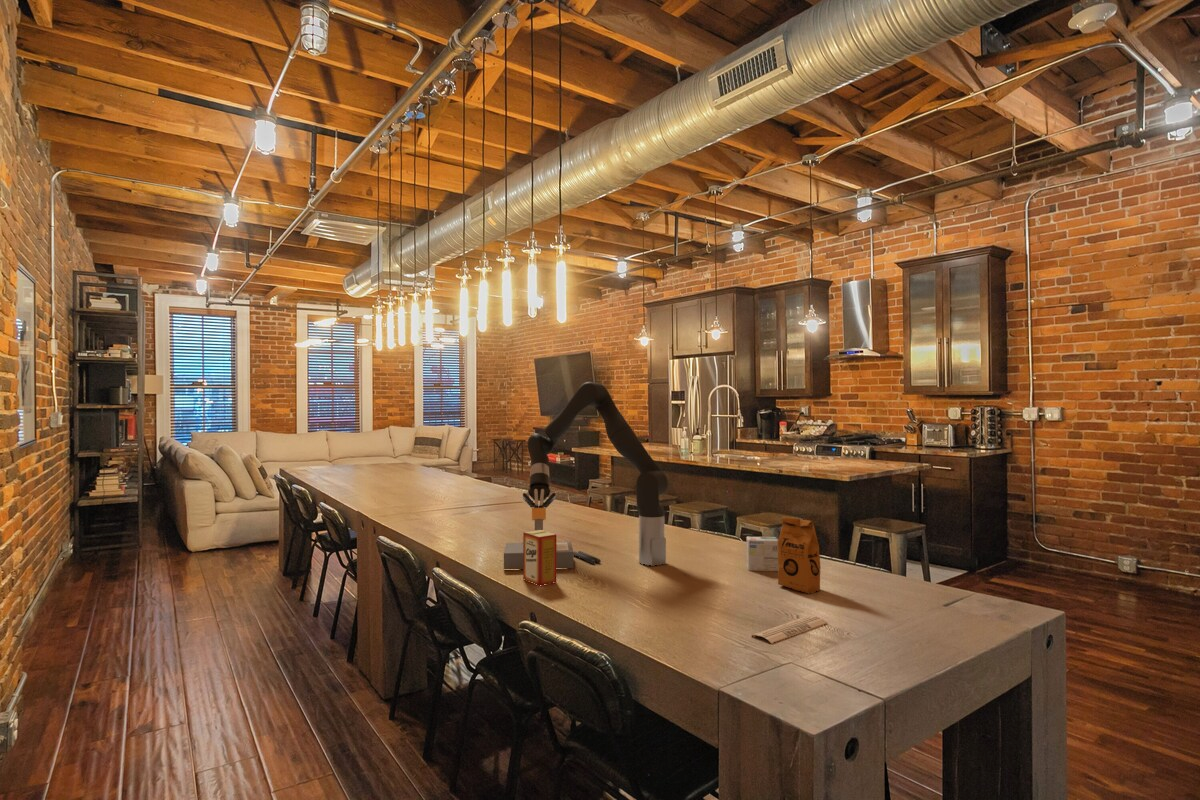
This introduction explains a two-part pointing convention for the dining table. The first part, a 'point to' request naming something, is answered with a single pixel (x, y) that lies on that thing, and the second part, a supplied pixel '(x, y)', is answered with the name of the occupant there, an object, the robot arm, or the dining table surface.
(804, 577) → the coffee package
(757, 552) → the light bulb box
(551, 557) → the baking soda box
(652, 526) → the robot arm
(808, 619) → the newspaper
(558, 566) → the breaker block
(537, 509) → the breaker lever
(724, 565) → the dining table surface
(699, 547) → the dining table surface
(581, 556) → the dark grey ridged bar
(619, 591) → the dining table surface
